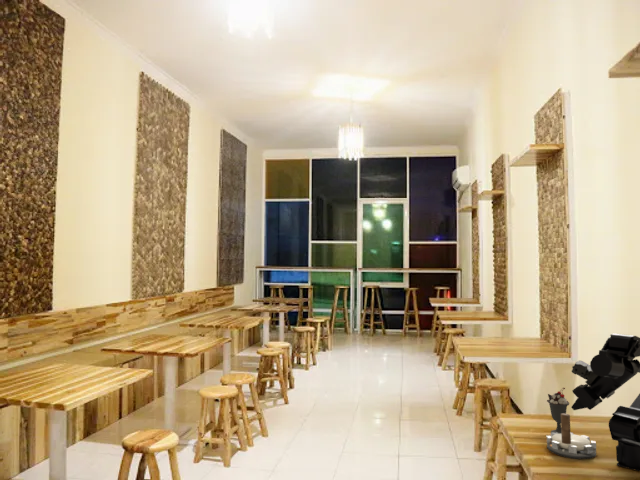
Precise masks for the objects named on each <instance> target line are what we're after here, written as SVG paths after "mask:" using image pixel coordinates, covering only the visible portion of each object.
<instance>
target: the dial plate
mask: <svg viewBox="0 0 640 480" xmlns="http://www.w3.org/2000/svg"><path fill="white" fill-rule="evenodd" d="M555 434H559V433H557V432H552V433H551V432H550V435H546V448H547V450H548V451H549V452H550V451H551V452H550V453H552V454H554V455H556V456H560V457H562V458H566V459H567V458H568V459H571V460H572V459H573V460H590V459H593V458H595V457H597V443H596V440H590V439H591V437H590V436H588V435H585V434H583V435H582V434H581V435H580V436H582V437H585V438H587V439H588V440H589V441H590V445H585V446H584V451H577V448H576V446H573V445H568V450H567V449H563V448H560V443H559V442H557V441H552V436H553V435H555ZM571 434H574V432H571Z"/></svg>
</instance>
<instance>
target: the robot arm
mask: <svg viewBox="0 0 640 480" xmlns="http://www.w3.org/2000/svg"><path fill="white" fill-rule="evenodd" d="M639 357H640V337H639V336H637V335H632V334H631V335H630V334H624V333H623V334H621V333H614V332H613V333H611V334H610V335H609V337H608V338H607V339H606V341H605V342H604V344H603V346H602V348H601V349H600V350H598V354H596V355H594V356H593V357H592V358H591V360H590V362H589V363H587V362H585V361H583V360H578V361H575V363H574V365H572V369H571V373H572V374H573V375H577V376H579V377H580V378H582V379H584V380H585V384H580V385H578V386H576V387H575V388H573V389H572V393H573V394H574V395H575V397H576V400H575V401H574V402H573V404H572V405H571V409H572V410H573V411H578V410H583V409H588V410H590V411H591V410H593V408H595V407H596V406H599V404H601V403H602V402H603V400H605V399H609V398H610V397H612V396H613V395H614V394H615V393H616V391H617V390H618V389H620V388H621V387H622V386H623V385H624V384H626V383H627V382H628V381H630V380H631V379H633V378H634V376H636V375H637V374H640V361H639V359H635V358H639ZM611 415H612V416H611V418H610V419H609V421H608V430H609V432H610V433H609V434H610V437H611V440H613V441H617V445H615V454H616V461H617V463H616V466H617V467H621V468H625V469H629V470H630V469H631V470H634V471H638V472H640V393H639V394H638V395H637V396H636V398H635V399H634V400H633V402H632V403H631V405H630V406H623V405H619V406H618V407H617V408H616V410H615V411H614V412H613V413H612V414H611Z"/></svg>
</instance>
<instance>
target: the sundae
mask: <svg viewBox="0 0 640 480" xmlns="http://www.w3.org/2000/svg"><path fill="white" fill-rule="evenodd" d="M564 390H566V387H563V388H561V389H560V390H559V391H557V392H555V393H553V394H550V393H547V397H548V399H547V400H546V402H547V403H548V404H549V410H550V415H551V418H552V419H553V421H555V422H556V429H551V431H550V434H551V433H552V432H557V433H559V434H560V433H561V414H563V413H564V414H567V408H568V406H569V405H570V402H569V401H568V400H567V398H566V397H565V394H564V393H563V391H564Z"/></svg>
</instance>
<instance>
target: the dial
mask: <svg viewBox="0 0 640 480" xmlns="http://www.w3.org/2000/svg"><path fill="white" fill-rule="evenodd" d="M552 441H557V442H559V443H560V448H563V449H567V450H568V445H573V446H576V448H577V451H584V446H585V445H590V444H591V440H590V441H589V440H588V439H587V438H585V437H582V436H581V435H578V434H574V433H573V434H571V416H570V414H569V413H566V414H564V413H563V414H561V433H560V434H555V435H553V436H552Z"/></svg>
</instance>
